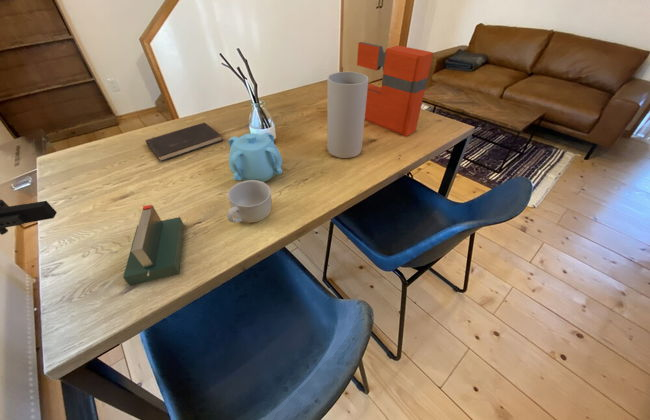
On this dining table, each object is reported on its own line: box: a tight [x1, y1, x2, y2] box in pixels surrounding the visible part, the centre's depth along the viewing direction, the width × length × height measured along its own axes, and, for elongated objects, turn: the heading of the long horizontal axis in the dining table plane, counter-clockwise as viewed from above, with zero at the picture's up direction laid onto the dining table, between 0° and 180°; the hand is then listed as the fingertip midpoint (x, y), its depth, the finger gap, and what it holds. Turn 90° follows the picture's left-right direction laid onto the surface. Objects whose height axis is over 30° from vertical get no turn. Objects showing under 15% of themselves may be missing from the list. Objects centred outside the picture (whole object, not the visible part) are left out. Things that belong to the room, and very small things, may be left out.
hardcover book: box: [144, 122, 223, 163], centre depth 105 cm, size 16×23×2 cm
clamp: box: [356, 41, 434, 137], centre depth 110 cm, size 9×35×28 cm, turn 44°
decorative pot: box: [228, 132, 283, 183], centre depth 86 cm, size 16×16×14 cm
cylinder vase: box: [326, 71, 369, 159], centre depth 92 cm, size 12×12×25 cm
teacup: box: [226, 180, 273, 224], centre depth 72 cm, size 14×11×8 cm
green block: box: [109, 216, 197, 286], centre depth 65 cm, size 18×18×3 cm
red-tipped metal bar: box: [130, 204, 163, 269], centre depth 62 cm, size 14×2×6 cm, turn 17°
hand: (49, 209), depth 46 cm, fingers closed
